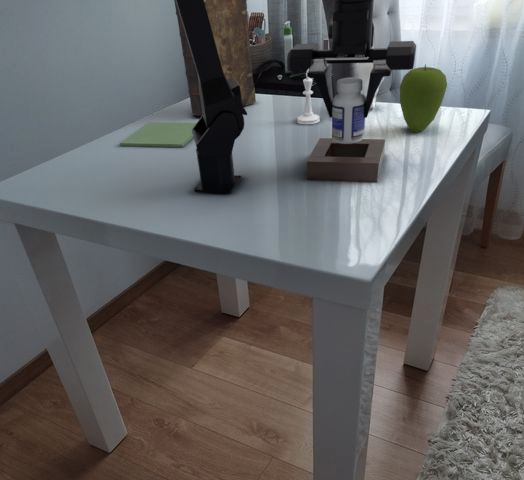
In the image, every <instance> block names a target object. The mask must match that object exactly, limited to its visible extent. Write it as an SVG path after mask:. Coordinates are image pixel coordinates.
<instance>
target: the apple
mask: <svg viewBox="0 0 524 480" xmlns="http://www.w3.org/2000/svg"><path fill="white" fill-rule="evenodd" d="M447 88H448V81H447V75H446V74H445V73H444V72H443V71H442V70H441V69H439V68H436V67H431V66H427V64H424V66H420V67H414V68H413V69H410V70H408V72H407V73H405V74H404V76H403V77H402V80H401V82H400V84H399V104H400V108H401V112H402V116H403V119H404V121H405V124H406V125H407V127H408V128H409V130H410V131H411V132H413V133H420V132H424V131H425V130H426V129H427V128H428V127H429V125H431V124H432V122H434V120H435V119H436V117H437V114H438V112H439V109H440V108H441V106H442V104H443V100H444V99H445V98H444V97H445V94H446V90H447Z"/></svg>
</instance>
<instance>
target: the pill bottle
mask: <svg viewBox="0 0 524 480" xmlns="http://www.w3.org/2000/svg"><path fill="white" fill-rule="evenodd" d="M362 82H363V81H362V79H360V78H358V77H344V78H343V77H342V78H339V79H337V81H336V92H337V94H336V95H335V96H333V101H332V117H331V138H332V140H333V141H334V142H337V143H341V144H352V143H357V142H360V141H362V140H363V139H365V126H366V124H365V123H366V118H364V111H365V103H366V98H365V96H364V94H363V93H361V92H363V89H362Z"/></svg>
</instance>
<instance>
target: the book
mask: <svg viewBox="0 0 524 480" xmlns="http://www.w3.org/2000/svg"><path fill="white" fill-rule="evenodd" d="M247 1H248V0H204V3H205V6H206V10H207V14H208V17H209V21H210V25H211V29H212V32H213V36H214V40H215V44H216V47H217V51H218V55H219V59H220V62H221V66H222V70H223V73H224V75H225V77H226V79H227V81H228V80H229V79H231V78H234V79H235V80H236V82H237V83H238V84H239V86H240V90H241V100H242V105H243V107H244V106H248V105H252V104H255V103H256V102H257V99H256V88H255V83H254V77H253V64H252V52H251V44H250V31H249V20H248V5H247V4H248V3H247ZM173 2H174V8H175V15H176V18H177V24H178V32H179V38H180V43H181V50H182V57H183V62H184V69H185V72H184V73H185V76H186V80H187V89H188V92H187V93H188V94H189V102H190V109H191V114H192V115H194V116H197V117H199V116H200V117H201V116H202V107H201V100H200V92H199V82H198V74H197V70H196V67H195V64H194V60H193V57H192V54H191V50H190V47H189V44H188V40H187V37H186V34H185V30H184V27H183V24H182V20H181V17H180V14H179V10H178V7H177V4H176V0H173Z"/></svg>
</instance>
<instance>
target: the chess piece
mask: <svg viewBox="0 0 524 480" xmlns="http://www.w3.org/2000/svg"><path fill="white" fill-rule="evenodd" d="M308 72H309V69H308V70H307V71H306V73H305V77H306V78H304V79H303V80H302V82H303V86H304V91H302V94H303V95H305V99H304V100H305V103H304V111H303V112H302V114H301V115H299V116H298V117H297V118H296V119H297V120H296V123H297V124H299V125H315V124H318V123H319V122H320V116H319V115H318V114H316V113H315V112H314V111H313V107H312V106H313V105H312V98H311V95H313V94H314V90H311V89H312V85H313V81H314V78H312V77H307V73H308Z"/></svg>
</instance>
